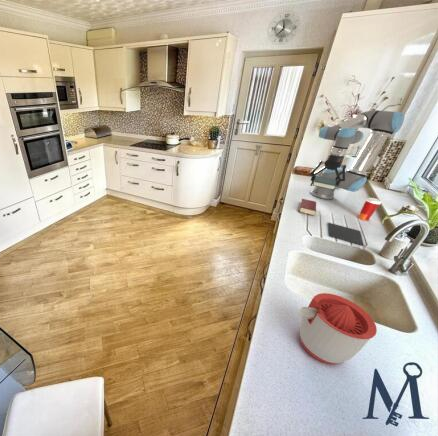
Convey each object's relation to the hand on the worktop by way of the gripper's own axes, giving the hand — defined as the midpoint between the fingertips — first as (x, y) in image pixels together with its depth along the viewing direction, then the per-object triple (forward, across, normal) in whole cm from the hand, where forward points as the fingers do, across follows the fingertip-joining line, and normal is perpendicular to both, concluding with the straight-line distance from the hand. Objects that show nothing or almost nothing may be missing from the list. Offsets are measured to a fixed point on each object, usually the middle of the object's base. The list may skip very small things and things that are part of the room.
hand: (321, 187), depth 153 cm
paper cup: (+18, +30, +13) cm, 38 cm away
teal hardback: (-2, 0, 0) cm, 2 cm away
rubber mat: (+18, +19, -19) cm, 32 cm away
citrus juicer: (+19, +7, -112) cm, 114 cm away
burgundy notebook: (+18, -3, +3) cm, 19 cm away
